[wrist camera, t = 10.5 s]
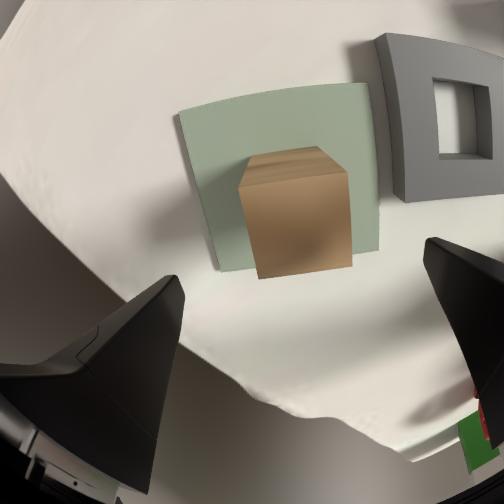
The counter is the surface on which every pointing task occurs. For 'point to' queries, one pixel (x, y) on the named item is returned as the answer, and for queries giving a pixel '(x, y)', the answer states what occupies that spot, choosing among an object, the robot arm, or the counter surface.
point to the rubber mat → (278, 139)
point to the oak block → (297, 212)
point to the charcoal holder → (425, 118)
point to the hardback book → (478, 450)
